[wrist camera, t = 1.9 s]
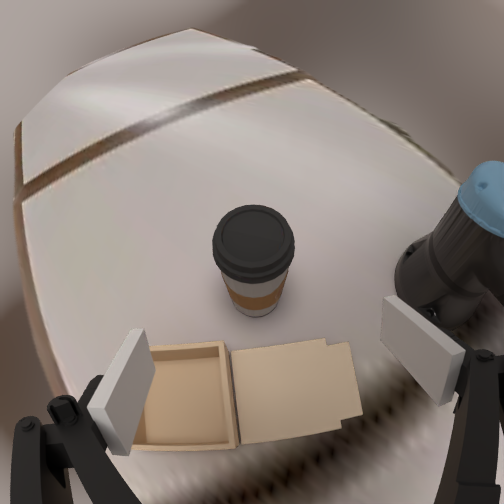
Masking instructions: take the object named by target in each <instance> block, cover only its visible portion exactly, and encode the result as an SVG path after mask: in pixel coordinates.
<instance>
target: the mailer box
mask: <svg viewBox="0 0 504 504" xmlns="http://www.w3.org/2000/svg"><path fill="white" fill-rule="evenodd" d="M149 348H150V352H151V355H152V359H153V362H154V366H155V369H156V372H155V375H154V378H153V381H152V384H151V387H150V390H149V393H148V396H147V399H146V402H145V405H144V408H143V411H142V414H141V418H140V421H139V424H138V427H137V431H136V434H135V437H134V440H133V444H132V447H131V449H133V450H152V451H202V450H222V449H236V448H237V446H238V445H239V436H238V428H237V420H236V412H235V404H234V395H233V386H232V377H231V368H230V359H229V351H228V349H227V347H226V345H225V343H224V340H222V341H212V342H202V343H190V344H177V345H162V346H149ZM231 358H232V368H233V377H234V386H235V394H236V403H237V411H238V419H239V427H240V435H241V443H242V444H251V443H260V442H268V441H276V440H283V439H289V438H295V437H301V436H307V435H312V434H317V433H322V432H327V431H331V430H336V429H340V428H341V421H340V420H343V419H347V418H351V417H355V416H359V415H363V412H362V407H361V401H360V396H359V390H358V385H357V380H356V375H355V370H354V365H353V361H352V356H351V351H350V347H349V342H344V343H338V344H333V345H328V346H327V345H326V340H325V338H321V339H315V340H309V341H302V342H296V343H289V344H283V345H276V346H268V347H261V348H252V349H244V350H235V351H231Z"/></svg>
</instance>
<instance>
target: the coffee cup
mask: <svg viewBox="0 0 504 504" xmlns="http://www.w3.org/2000/svg"><path fill="white" fill-rule="evenodd" d="M294 242H295V241H294V236H293V232H292V230H291V228H290V226H289V224H288V223H287V221H286V219H285V218H284V217H283V216H282V215H281V214H280V213H279V212H277V211H275V210H274V209H272V208H269V207H266V206H262V205H245V206H241V207H238V208H235V209H234V210H232V211H230V212H228V213H227V214H226V215H225V216H224V217H223V218H222V219H221V221H220V222H219V224H218V225H217V228H216V230H215V232H214V236H213V240H212V243H213V257H214V260H215V262H216V265H217V266H218V267H219V269H220V270H221V274H222V277H223V279H224V282H225V284H226V287H227V289H228V292H229V294H230V297H231V298H232V300H233V302H234V305H235V306H236V308H237V309H238V310H239V311H240V312H242V313H243V314H245V315H248V316H253V317H257V316H263V315H266V314H268V313H269V312H271V311H272V310H273V309H274V308H275V307H276V305H277V303H278V300H279V298H280V295H281V293H282V290H283V287H284V283H285V280H286V277H287V274H288V268H289V266H290V264H291V262H292V259H293V257H294V250H295V246H294Z"/></svg>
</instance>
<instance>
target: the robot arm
mask: <svg viewBox="0 0 504 504" xmlns="http://www.w3.org/2000/svg"><path fill="white" fill-rule="evenodd" d="M395 286H396V291H397V294H398V297H399V298H398V297H397V296H395V295H392V296H387V297H383V311H382V325H381V337H380V340H381V341H382V342H383V343H384V344H385V346H386V347H387V348H388V349H389V350H390V351H391V352H392V353H393V355H394V356H395V357H396V358H397V359H398V360H399V361H400V363H401V364H402V365H403V366H404V367H405V368H406V369H407V371H408V372H409V373H410V374H411V375H412V376H413V377H414V379H415V380H416V381H417V382H418V383H419V384H420V386H421V387H422V388H423V389H424V390H425V391H426V393H427V394H428V395H429V396H430V397H431V398H432V400H433V401H434V402H435V403H436V404H437V405H438V407H439V406H441V405H443V404H446V403H448V402H450V401H451V400H452V397H453V394H454V391H456V392H457V393H458V394H459V397H458V400H457V403H456V406H455V409H454V411H453V413H454V414H455V419H454V425H453V430H452V435H451V440H450V445H449V450H448V454H447V459H446V463H445V467H444V471H443V474H442V478H441V482H440V485H439V489H438V492H437V495H436V498H435V501H434V504H499V500H500V494H501V487H500V485H496V484H495V479H496V471H497V461H498V447H499V420H500V423H501V427H502V431H503V434H504V355H501V356H495V354H493V353H492V352H490V351H488V350H484V349H482V350H476V351H475V350H474V349H472V348H471V347H470V346H468V345H467V344H466V343H465V342H463V341H462V340H460V339H459V338H458V337H457V336H455V335H454V334H453V333H452V332H450V330H453V329H455V328H457V327H459V326H460V325H462V324H463V323H465V322H466V321H467V320H468V319H469V318H470V317H471V316H472V315H473V313H474V312H475V310H476V308H477V306H478V305H479V303H480V301H481V299H482V297H483V295H484V294H485V293H486V292H487V291H488V290H490V291H491V292H492V293H493V294H494V296H495V297H496V298H497V299H498V300H499V301H500V303H501V304H502V305H503V306H504V163H502V162H499V161H487V162H484V163H482V164H480V165H478V166H477V167H476V168H475V169H474V171H473V172H472V173H471V175H470V176H469V178H468V179H467V181H466V182H464V183H463V184H462V185H461V186H460V188H459V190H458V195H457V197H456V198H455V200H454V201H453V203H452V204H451V206H450V207H449V209H448V210H447V212H446V213H445V215H444V216H443V218H442V219H441V221H440V222H439V223H438V225H437V226H436V228H435V229H434V231H433V232H431V233H429V234H428V235H426V236H424V237H422V238H420V239H419V240H417V241H415V242H414V243H412V244H411V245H410V246H409V247H408V248H407V249H406V250H405V252H404V253H403V255H402V256H401V258H400V259H399V261H398V263H397V266H396V271H395ZM155 372H156V369H155V366H154V362H153V359H152V355H151V352H150V348H149V345H148V341H147V337H146V334H145V330H144V328H139V329H131V330H130V332H129V333H128V335H127V337H126V338H125V340H124V342H123V343H122V345H121V347H120V349H119V350H118V352H117V354H116V356H115V357H114V359H113V361H112V362H111V364H110V366H109V368H108V370H107V371H106V373H105V375H97V376H96V377H95V378H93V379H92V380H91V381H90V382H89V384H88V386H87V387H86V389H85V391H84V393H83V395H82V396H81V398H80V399H79V401H78V403H77V401H76V399H75V398H74V397H73V396H70V395H62V396H58V397H56V398H54V399H53V400H51V401H50V402H49V404H48V406H47V411H48V412H49V414H50V416H51V418H52V420H53V421H54V423H55V424H46V425H42V423H41V422H40V420H39V419H38V418H37V417H34V416H28V417H24V418H22V419H21V420H19V422H18V423H17V424H16V427H15V432H14V440H13V451H12V463H11V485H10V486H11V487H10V504H73V498H72V492H71V486H70V480H69V473H68V468H75V470H76V472H77V474H78V476H79V478H80V480H81V482H82V484H83V486H84V488H85V490H86V492H87V493H88V495H89V497H90V499H91V501H92V502H93V504H142V503H141V502H140V501H139V499H138V498H137V497H136V496H135V494H134V493H133V492H132V490H131V489H130V488H129V486H128V485H127V483H126V482H125V481H124V479H123V478H122V476H121V475H120V474H119V472H118V471H117V469H116V468H115V466H114V465H113V463H112V462H111V460H110V459H109V457H108V456H107V454H106V453H105V451H106V448H107V446H108V448H109V450H110V451H111V453H112V455H121V456H129V454H130V450H131V447H132V444H133V440H134V437H135V434H136V431H137V427H138V424H139V421H140V418H141V414H142V411H143V408H144V405H145V402H146V399H147V396H148V393H149V390H150V387H151V384H152V381H153V378H154V375H155Z"/></svg>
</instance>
